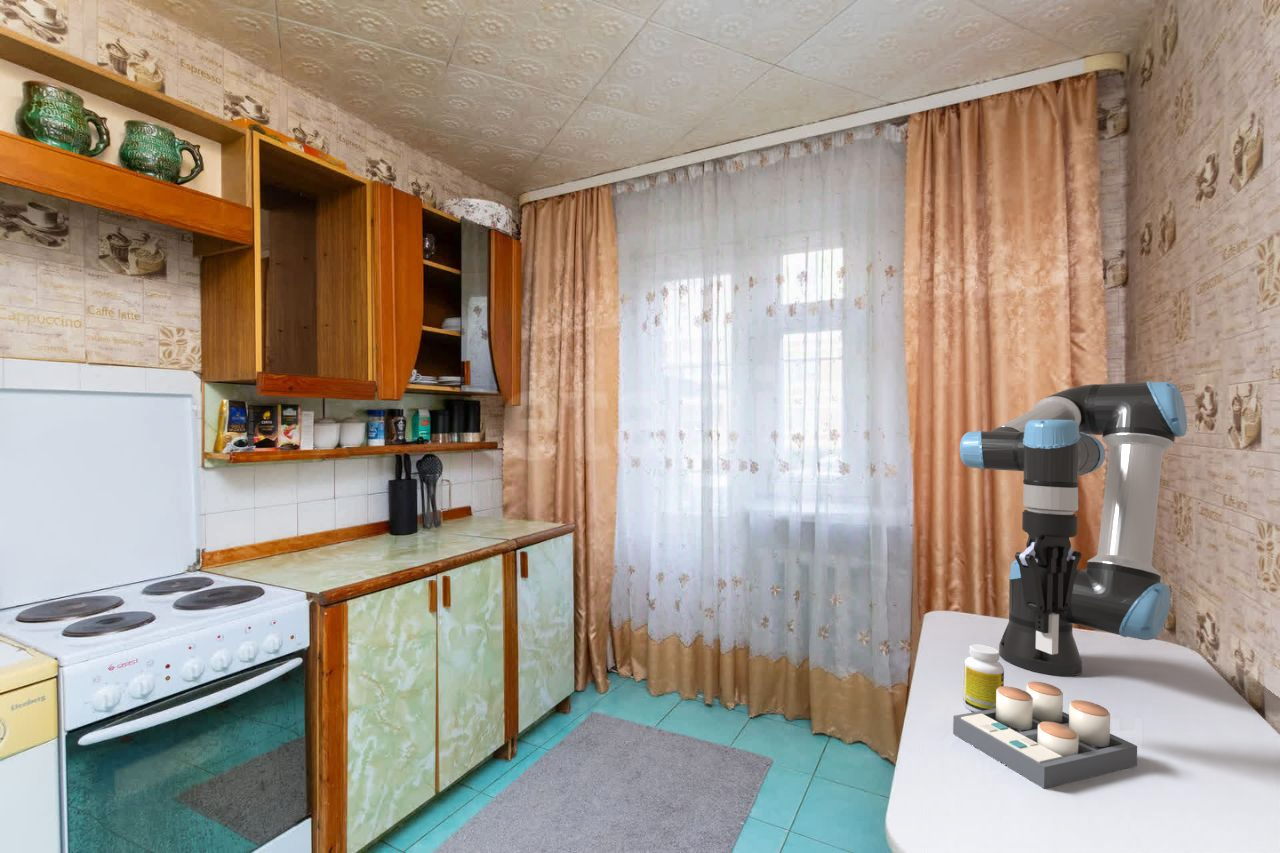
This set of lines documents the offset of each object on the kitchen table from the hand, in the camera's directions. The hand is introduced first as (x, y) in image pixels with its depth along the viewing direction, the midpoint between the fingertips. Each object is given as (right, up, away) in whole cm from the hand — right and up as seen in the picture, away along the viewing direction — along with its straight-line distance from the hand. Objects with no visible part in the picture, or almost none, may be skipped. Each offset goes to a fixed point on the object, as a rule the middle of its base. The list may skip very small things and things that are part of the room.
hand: (1046, 650), depth 95 cm
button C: (-7, -11, -2) cm, 13 cm away
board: (-5, -14, -5) cm, 15 cm away
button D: (-5, -13, -9) cm, 17 cm away
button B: (+2, -11, -7) cm, 13 cm away
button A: (0, -11, 0) cm, 11 cm away
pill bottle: (-6, -14, +8) cm, 17 cm away
